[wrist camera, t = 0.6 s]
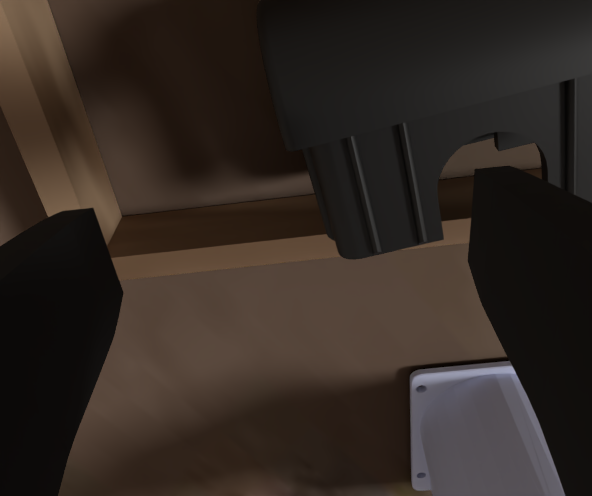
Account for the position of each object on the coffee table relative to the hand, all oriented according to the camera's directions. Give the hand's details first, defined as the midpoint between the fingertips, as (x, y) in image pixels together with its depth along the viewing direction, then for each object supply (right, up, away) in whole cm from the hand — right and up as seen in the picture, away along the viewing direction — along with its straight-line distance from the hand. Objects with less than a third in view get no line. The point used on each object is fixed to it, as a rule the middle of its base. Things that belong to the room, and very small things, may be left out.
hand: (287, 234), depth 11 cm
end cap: (+5, +7, +8) cm, 12 cm away
